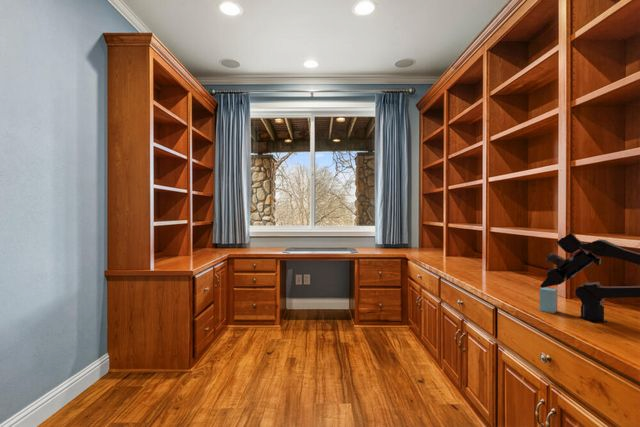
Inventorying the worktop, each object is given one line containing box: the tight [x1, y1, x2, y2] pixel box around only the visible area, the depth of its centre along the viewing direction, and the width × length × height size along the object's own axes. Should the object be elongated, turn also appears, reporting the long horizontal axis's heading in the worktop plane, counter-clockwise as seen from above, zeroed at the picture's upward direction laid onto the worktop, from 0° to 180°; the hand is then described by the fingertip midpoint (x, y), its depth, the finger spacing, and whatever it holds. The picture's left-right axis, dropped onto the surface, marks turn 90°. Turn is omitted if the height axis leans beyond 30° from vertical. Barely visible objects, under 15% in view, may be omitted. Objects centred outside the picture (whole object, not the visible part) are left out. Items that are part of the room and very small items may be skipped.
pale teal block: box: [539, 287, 558, 314], centre depth 137 cm, size 5×5×9 cm
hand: (544, 285), depth 138 cm, fingers open, 9 cm apart
